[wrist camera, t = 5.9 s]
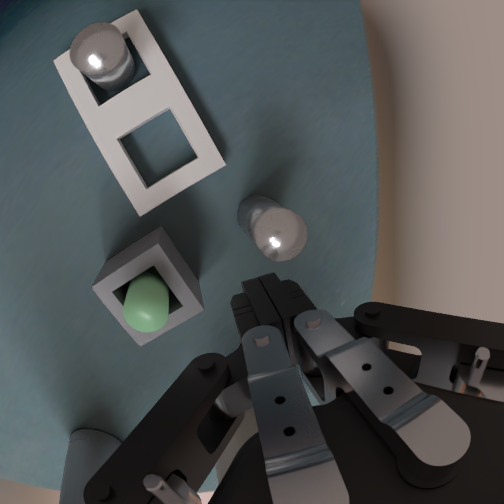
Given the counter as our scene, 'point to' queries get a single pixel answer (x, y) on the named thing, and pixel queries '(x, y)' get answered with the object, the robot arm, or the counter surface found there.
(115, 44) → the seated billet
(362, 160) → the counter surface
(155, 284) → the button
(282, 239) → the cylinder
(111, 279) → the grey square holder
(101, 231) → the counter surface
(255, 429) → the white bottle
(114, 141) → the grey flat frame
